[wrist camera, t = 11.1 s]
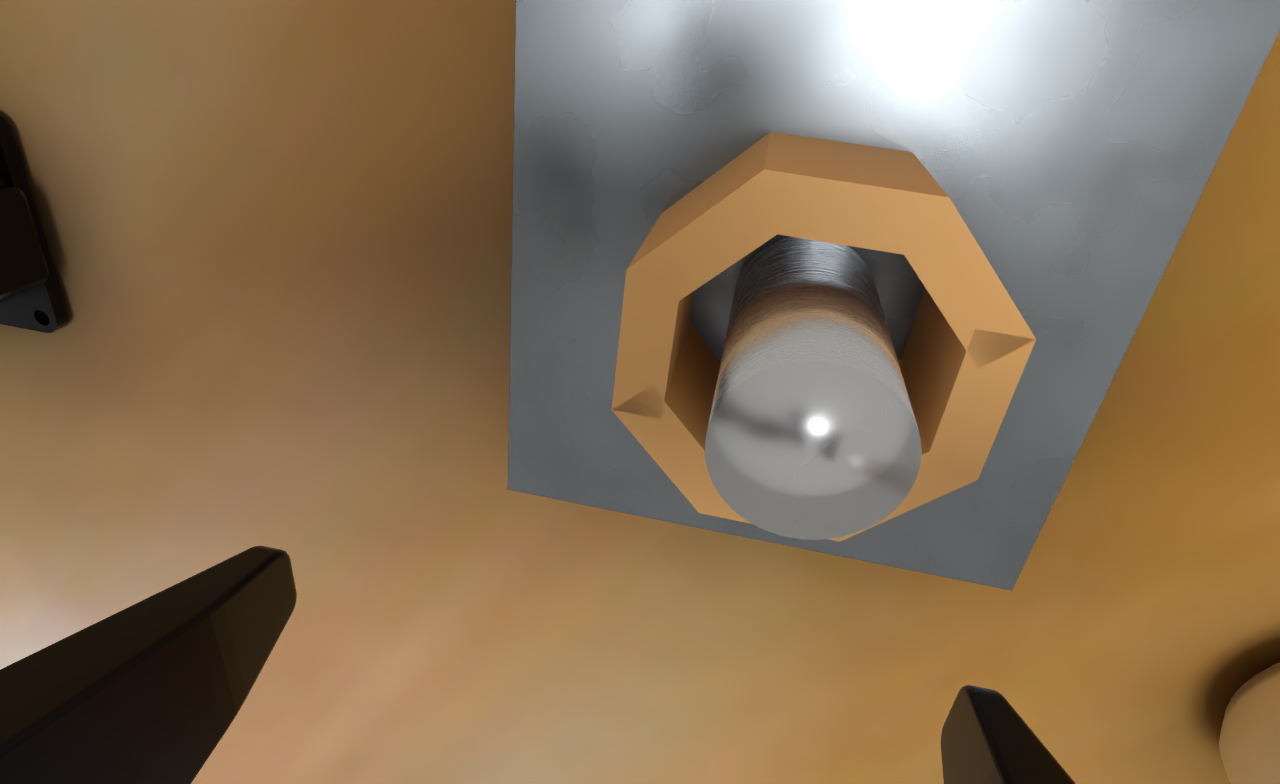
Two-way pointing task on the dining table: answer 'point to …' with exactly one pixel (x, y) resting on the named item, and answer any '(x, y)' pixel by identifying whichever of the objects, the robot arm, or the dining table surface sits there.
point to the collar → (835, 213)
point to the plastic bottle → (1253, 731)
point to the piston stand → (845, 275)
